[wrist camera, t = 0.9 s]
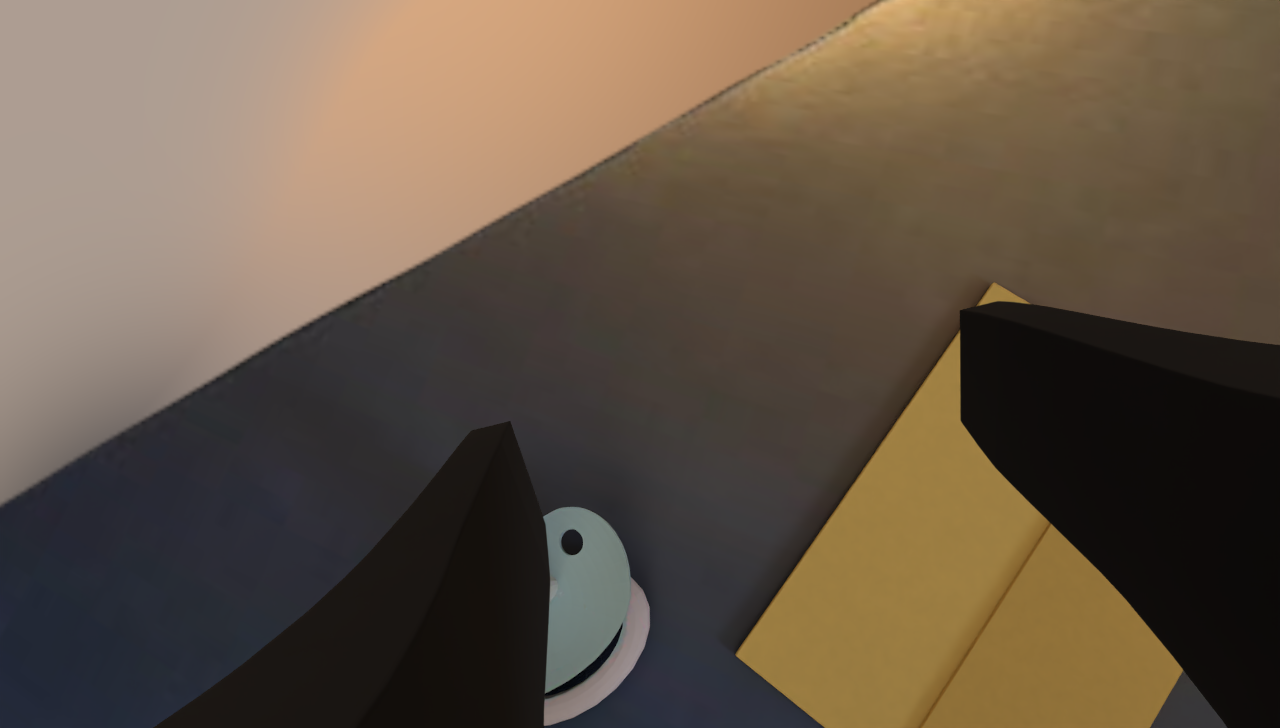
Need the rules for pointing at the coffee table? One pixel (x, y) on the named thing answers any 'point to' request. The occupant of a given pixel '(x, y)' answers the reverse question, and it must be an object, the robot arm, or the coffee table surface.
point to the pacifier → (589, 613)
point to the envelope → (953, 598)
